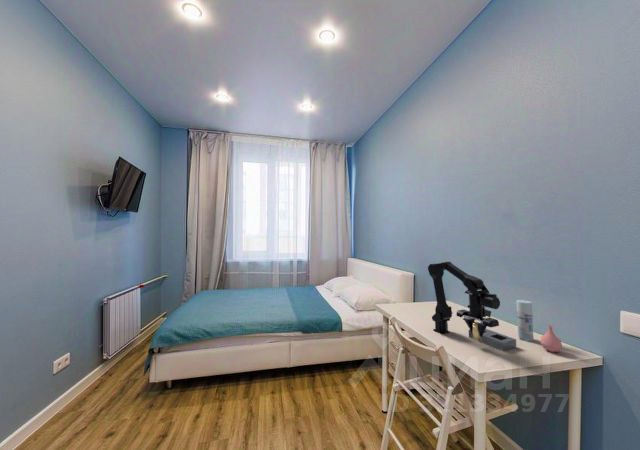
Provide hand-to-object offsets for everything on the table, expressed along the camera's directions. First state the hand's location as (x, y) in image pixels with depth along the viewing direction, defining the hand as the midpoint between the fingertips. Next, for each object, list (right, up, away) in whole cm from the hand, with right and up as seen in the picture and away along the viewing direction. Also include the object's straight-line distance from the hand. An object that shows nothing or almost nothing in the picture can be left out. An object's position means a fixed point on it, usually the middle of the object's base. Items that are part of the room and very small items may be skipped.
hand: (477, 335), depth 125 cm
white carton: (+31, -6, +8) cm, 33 cm away
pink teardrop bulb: (+32, -5, -6) cm, 33 cm away
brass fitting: (0, -2, 0) cm, 2 cm away
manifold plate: (+11, -6, +5) cm, 13 cm away
